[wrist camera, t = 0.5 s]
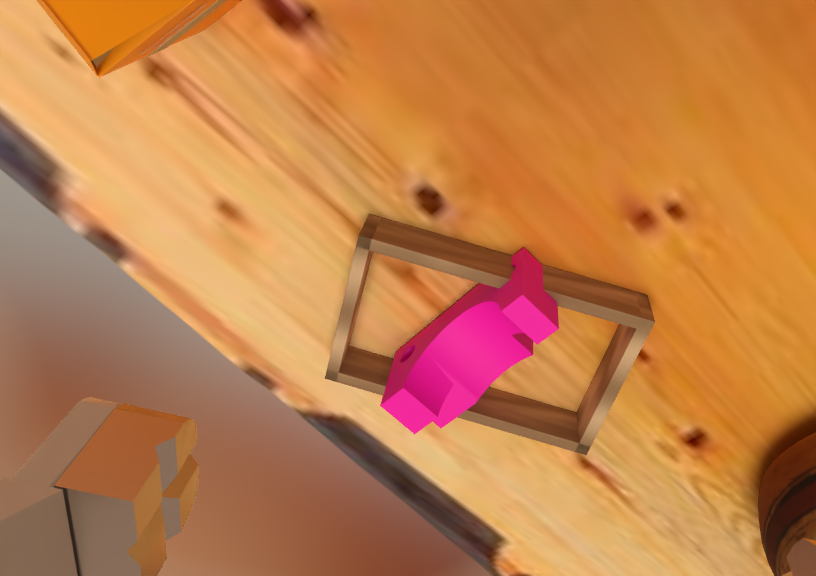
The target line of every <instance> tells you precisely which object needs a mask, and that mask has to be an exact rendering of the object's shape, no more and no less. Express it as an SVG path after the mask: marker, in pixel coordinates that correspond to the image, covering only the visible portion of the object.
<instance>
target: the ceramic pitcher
mask: <svg viewBox="0 0 816 576" xmlns="http://www.w3.org/2000/svg"><path fill="white" fill-rule="evenodd" d="M758 510H759V524H760V532H761V539H762V544H763V548H764V551H765V554H766V557H767V560H768V563H769V565H770V567H771V569H772V572H773V574H774V576H782V575H784V574H786V573H788V572H790V571H791V569H790V566H789V564H788V561H787V558H786V557H787V555H788V553H789V552H790V550H791V549H792V547H793V545H794V544H795V543H797V542H798V541H800V540H801V539H803V538H805V539H810V540H815V541H816V432H815V433H813V434H811V435H809V436H807V437H805V438H803V439H801V440H800V441H798V442H797V443H795V444H794V445H792V446H791V447H789V448H788V449H786V450H785V451H784V452H783V453H782V454H780V455H779V456H778V457H777V458H776V459H775V460H774V461H773V462H772V464H771V465H770V466H769V468H768V469H767V471H766V472H765V474H764V475H763V478H762V482H761V485H760V491H759V500H758Z"/></svg>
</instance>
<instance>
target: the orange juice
mask: <svg viewBox="0 0 816 576" xmlns="http://www.w3.org/2000/svg"><path fill="white" fill-rule="evenodd" d="M240 1H242V0H37V2H38V3H39V4H40V5H41V7H42V8H43V9H44V10H45V12H46V13H47V14H48V15H49V17H50V18H51V19H52V20H53V22H54V23H55V24H56V25H57V27H58V28H59V29H60V30H61V32H62V33H63V34H64V35H65V37H66V38H67V39H68V40H69V41H70V43H71V44H72V45H73V46H74V48H75V49H76V50H77V51H78V53H79V54H80V55H81V56H82V58H83V59H84V60H85V61H86V63H87V64H88V65H89V66H90V68H91V69H92V70H93V71H94V73H95V74H96V75H98V77H101V76H103V75H106V74H108V73H110V72H112V71H114V70H117V69H119V68H121V67H123V66H126V65H128V64H130V63H132V62H134V61H137V60H139V59H141V58H143V57H146V56H148V55H149V56H150V55H152V54H154V53H156V52H159V51H161V50H163V49H165V48H167V47H169V46H170V45H172V44H174V43H177V42H179V41H181V40H183V39H185V38H188V37H190V36H192V35H194V34H196V33H199V32H201V31H203V30H204V29H206V28H207V27H208V26H210V25H211V24H212V23H213V22H215V21H216V20H217V19H219V18H220V17H221V16H222V15H224V14H225V13H226V12H228V11H229V10H230V9H231V8H233V7H234V6H235V5H237V4H238V3H239V2H240Z"/></svg>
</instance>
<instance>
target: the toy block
mask: <svg viewBox="0 0 816 576" xmlns="http://www.w3.org/2000/svg"><path fill="white" fill-rule="evenodd" d="M511 265H512V266H514V267H515V270H514V272H513V273H512V274H511V280H510V281H508V282H507V283H506V284H505V285H503V286H502V287H501V288H500V289H499V288H496V287H492V286H489V285H485V284H482V283H479V284H478V285H477V286H476V287H474V288H473V289H472V290H471V291H470V292H468V293H467V294H466V295H465V296H463V297H462V298H461V299H460V300H459V301H457V302H456V303H455V304H454V305H452V306H451V307H450V308H449V309H448V310H446V311H445V312H444V313H443V314H442V315H440V316H439V317H438V318H437V319H435V320H434V321H433V322H432V323H431V324H429V325H428V326H427V327H426V328H424V329H423V330H422V331H421V332H420V333H418V334H417V335H416V336H415V337H413V338H412V339H411V340H410V341H409V342H407V343H406V344H405V345H404V346H403V347H401V348H400V349H399V350H398V351H396V353H395V356H394V360H393V363H392V367H391V370H390V374H389V377H388V381H387V384H386V388H385V391H384V395H383V398H382V402H381V405H380V406H381V407H383V408H384V409H385V410H386V411H387V412H389V413H390V414H391V415H392V416H393V417H395V418H396V419H397V420H398V421H399V422H401V423H402V424H403V425H404V426H405V427H407V428H408V429H409V430H410V431H411V432H413V433H414V434H416V433H417V432H418V431H420V430H421V429H422V428H424V427H425V426H427V425H428V424H429V423H431V422H432V421H433V422H434V423H435V424H436V425H438V426H439V427H440V428H442V427H444V426H445V425H446V424H448V423H449V422H451V421H452V420H453V419H455V418H456V417H457V416H459V415H460V414H462V413H463V412H464V411H466V410H467V409H469V408H470V407H471V406H473V405H474V404H476V402H477V401H478V399H479V398H480V397H481V395H482V394H483V393H484V392H485V390H486V389H487V388H488V387H489V386H490V385H491V384H492V383H493V382H494V381H495V380H496V379H497V378H498V377H499V376H500V375H501V374H502V373H503V372H505V371H506V370H507V369H508V368H510V367H511V366H513V365H514V364H516V363H517V362H519V361H521V360H523V359H525V358H527V357H529V356H532V355H533V341H534V342H535V343H536V344H539V343H540V342H541V341H543V340H544V339H546V338H547V337H548V336H550V335H551V334H552V333H554V332H555V331H556V330H558V329H559V324H558V308H557V302H556V301H555V300H554V299H553V298H552V297H551V296H550V295H549V294H548V293H547V292H546V291H545V290H544V289H543V266H542V265H541V264H540V263H539V262H538V261H537V260H536V259H535V258H534V257H533V256H532V255H531V254H530V253H529V252H528V251H527V250H526V249H525V248H524V247H523V248H522V249H521V250H520V251H518V252H517V253H516V254H515V255H513V256H512V264H511Z"/></svg>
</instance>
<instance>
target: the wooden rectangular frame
mask: <svg viewBox="0 0 816 576" xmlns="http://www.w3.org/2000/svg"><path fill="white" fill-rule="evenodd" d="M372 252H376V253H379V254H383V255H386V256H390V257H393V258H396V259H400V260H403V261H407V262H410V263H413V264H417V265H420V266H424V267H427V268H431V269H434V270H437V271H441V272H444V273H448V274H451V275H455V276H458V277H461V278H465V279H468V280H472V281H475V282H478V283H482V284H485V285H489V286H492V287H496V288H499V289H500V288H501V287H502V286H503V285H505V284H506V283H507V282H508V281H510V280H511V274H512V273H513V272H514V270H515V267H514V266H512V265H511V264H512V256H511V255H508V254H504V253H501V252H498V251H494V250H491V249H487V248H484V247H481V246H477V245H474V244H470V243H467V242H463V241H460V240H457V239H453V238H450V237H446V236H443V235H439V234H436V233H433V232H429V231H426V230H422V229H419V228H416V227H412V226H409V225H405V224H402V223H398V222H395V221H392V220H388V219H385V218H381V217H378V216H374V215H371V214H369V215H368V217H367V219H366V221H365V224H364V226H363V228H362V230H361V232H360V234H359V236H358V241H357V245H356V249H355V253H354V258H353V262H352V266H351V270H350V275H349V279H348V283H347V287H346V291H345V296H344V300H343V304H342V308H341V313H340V317H339V321H338V325H337V330H336V334H335V338H334V342H333V346H332V351H331V355H330V359H329V363H328V368H327V372H326V376H325V379H329V380H332V381H335V382H339V383H342V384H346V385H349V386H353V387H356V388H359V389H363V390H366V391H370V392H373V393H376V394H380V395H384V391H385V388H386V384H387V381H388V377H389V374H390V370H391V367H392V363H393V360H394V359H391V358H388V357H384V356H381V355H377V354H374V353H371V352H367V351H364V350H360V349H357V348H354V347H350V346H349V344H350V340H351V336H352V332H353V328H354V324H355V320H356V316H357V312H358V308H359V304H360V300H361V296H362V292H363V288H364V284H365V280H366V276H367V272H368V268H369V264H370V260H371V256H372ZM541 265H542V264H541ZM542 266H543V289H544V290H545V291H546V292H547V293H548V294H549V295H550V296H551V297H552V298H553V299H554V300H555V301H556V302H557V306H561V307H564V308H567V309H571V310H574V311H578V312H581V313H584V314H588V315H591V316H595V317H598V318H602V319H605V320H608V321H612V322H615V323H619V326H618V328H617V331H616V333H615V335H614V337H613V339H612V341H611V343H610V345H609V347H608V349H607V351H606V353H605V355H604V357H603V359H602V361H601V364H600V366H599V368H598V370H597V372H596V374H595V376H594V378H593V380H592V382H591V384H590V386H589V388H588V390H587V392H586V394H585V397H584V399H583V401H582V403H581V405H580V407H579V409H578V411H577V413H575V412H572V411H568V410H565V409H562V408H558V407H555V406H551V405H548V404H545V403H541V402H538V401H534V400H531V399H527V398H524V397H521V396H517V395H514V394H510V393H507V392H504V391H500V390H497V389H493V388H490V387H488V388H487V389H486V390H485V392H484V393H483V394H482V395H481V397H480V398H479V399H478V401H477V402H476V404H474V405H473V406H471V407H470V408H469V409H467V410H466V411H464V412H463V413H462V414H460V415H459V416H457V417H458V418H462V419H465V420H468V421H472V422H475V423H479V424H482V425H485V426H489V427H492V428H496V429H499V430H502V431H506V432H509V433H513V434H516V435H519V436H523V437H526V438H530V439H533V440H536V441H540V442H543V443H547V444H550V445H554V446H557V447H560V448H564V449H567V450H571V451H574V452H577V453H581V454H584V455H587V453H588V451H589V449H590V447H591V445H592V443H593V441H594V439H595V437H596V435H597V433H598V431H599V429H600V428H601V426H602V424H603V422H604V420H605V418H606V416H607V414H608V412H609V410H610V408H611V406H612V404H613V402H614V400H615V398H616V396H617V395H618V393H619V391H620V389H621V387H622V385H623V383H624V381H625V379H626V377H627V375H628V373H629V371H630V369H631V367H632V365H633V363H634V362H635V360H636V358H637V356H638V354H639V352H640V350H641V348H642V346H643V344H644V342H645V340H646V338H647V336H648V334H649V332H650V330H651V328H652V327H653V325H654V323H655V320H654V317H653V313H652V310H651V306H650V303H649V299H648V296H647V295H645V294H641V293H638V292H635V291H631V290H628V289H624V288H621V287H617V286H614V285H611V284H607V283H604V282H600V281H597V280H593V279H590V278H587V277H583V276H580V275H576V274H573V273H570V272H566V271H563V270H559V269H556V268H552V267H549V266H546V265H542Z"/></svg>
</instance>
